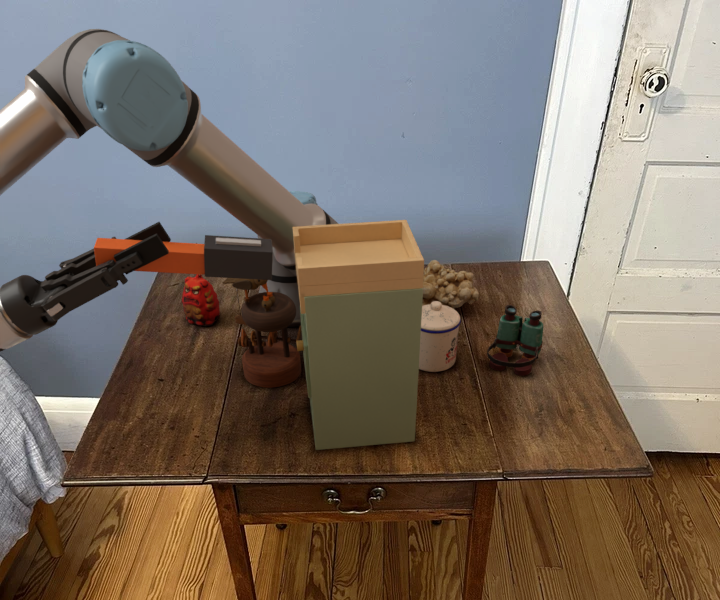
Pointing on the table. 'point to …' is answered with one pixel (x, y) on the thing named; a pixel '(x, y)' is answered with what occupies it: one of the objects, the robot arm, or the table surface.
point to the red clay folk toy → (200, 301)
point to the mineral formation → (447, 286)
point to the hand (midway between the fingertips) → (163, 237)
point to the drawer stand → (360, 330)
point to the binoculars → (517, 341)
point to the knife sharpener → (202, 257)
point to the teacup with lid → (438, 337)
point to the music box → (272, 357)
